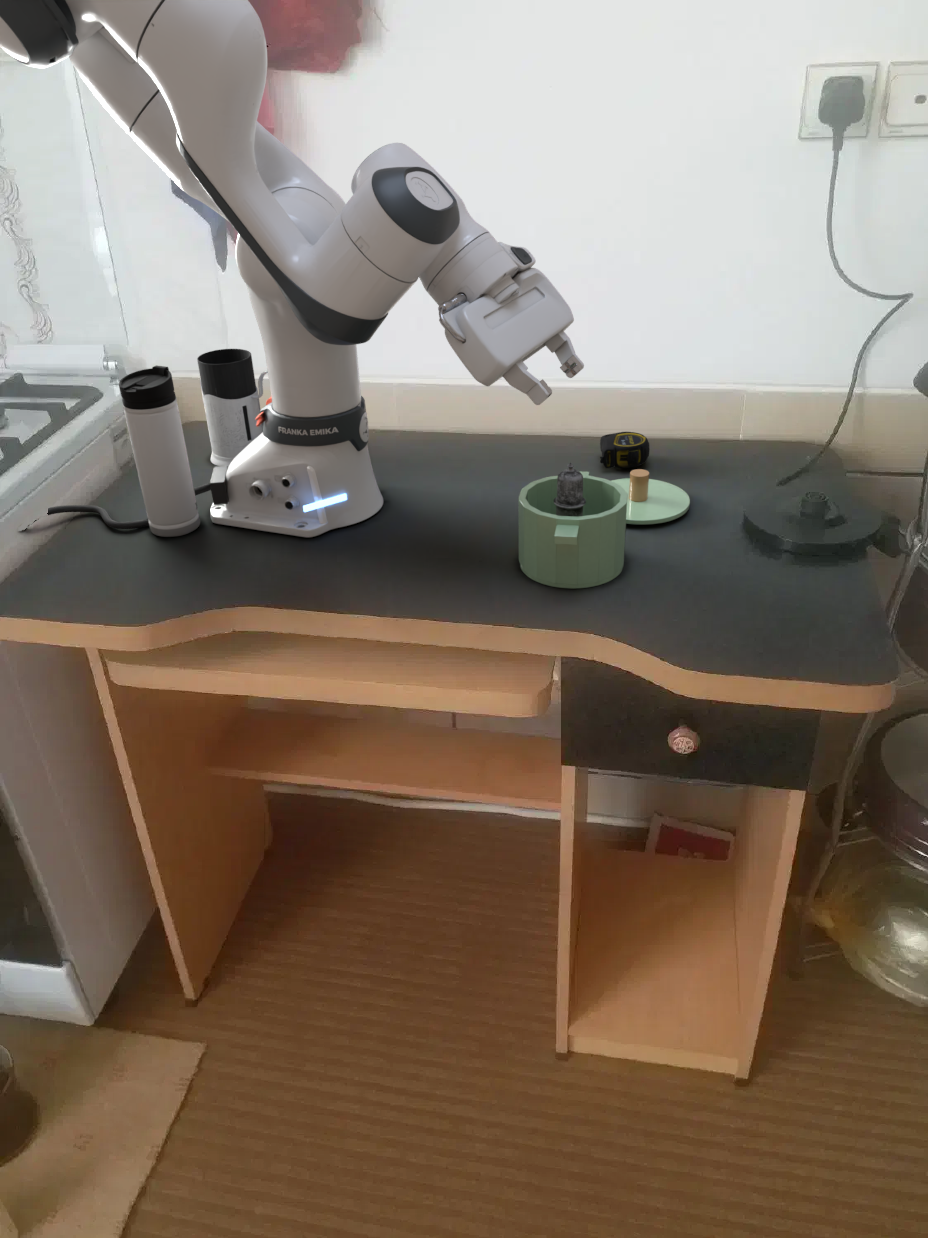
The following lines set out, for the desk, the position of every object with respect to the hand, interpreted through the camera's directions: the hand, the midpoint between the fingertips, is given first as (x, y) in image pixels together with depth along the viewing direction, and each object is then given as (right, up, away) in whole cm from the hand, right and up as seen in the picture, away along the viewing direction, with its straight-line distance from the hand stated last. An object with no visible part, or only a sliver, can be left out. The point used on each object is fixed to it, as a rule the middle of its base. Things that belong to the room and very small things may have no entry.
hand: (562, 385), depth 105 cm
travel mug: (-47, -13, +22) cm, 54 cm away
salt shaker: (+2, -18, +9) cm, 20 cm away
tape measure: (+11, -3, +34) cm, 36 cm away
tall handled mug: (-41, -1, +41) cm, 58 cm away
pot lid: (+12, -10, +22) cm, 27 cm away
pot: (+2, -18, +10) cm, 21 cm away
